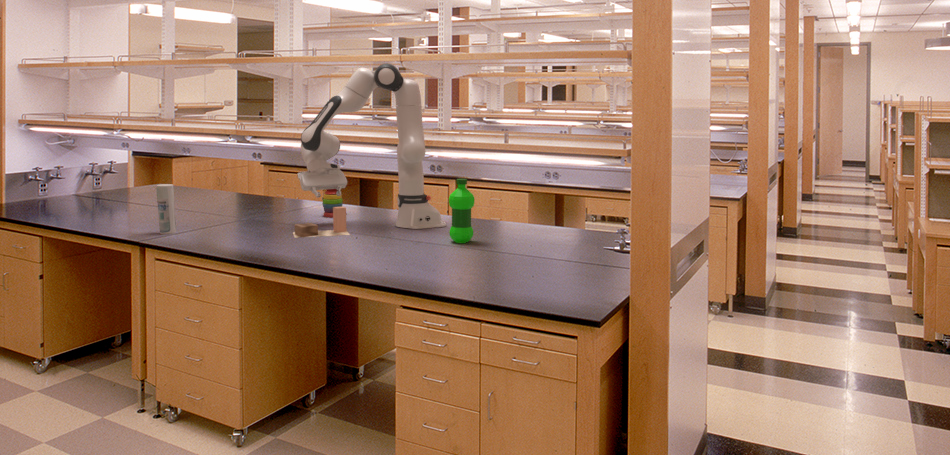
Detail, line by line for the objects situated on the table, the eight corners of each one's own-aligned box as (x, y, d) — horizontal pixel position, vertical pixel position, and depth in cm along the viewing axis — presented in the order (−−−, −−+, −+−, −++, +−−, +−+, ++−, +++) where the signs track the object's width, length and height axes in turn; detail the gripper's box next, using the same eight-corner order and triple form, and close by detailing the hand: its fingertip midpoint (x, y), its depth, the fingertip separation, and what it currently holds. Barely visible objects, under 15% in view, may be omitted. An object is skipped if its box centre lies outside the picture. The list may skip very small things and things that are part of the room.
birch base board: (346, 232, 297) (346, 229, 297) (350, 237, 286) (350, 234, 286) (292, 234, 290) (292, 232, 290) (294, 240, 279) (294, 237, 279)
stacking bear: (339, 218, 331) (338, 180, 328) (319, 217, 333) (318, 179, 330) (347, 214, 341) (347, 178, 338) (328, 213, 343) (327, 177, 340)
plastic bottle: (452, 238, 286) (452, 177, 281) (477, 240, 283) (478, 178, 278) (444, 243, 277) (444, 180, 272) (470, 245, 274) (470, 181, 269)
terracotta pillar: (342, 229, 296) (341, 206, 294) (346, 231, 293) (346, 207, 291) (333, 230, 293) (332, 207, 292) (337, 232, 290) (337, 208, 288)
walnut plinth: (311, 232, 290) (310, 222, 289) (318, 235, 284) (317, 225, 284) (294, 234, 286) (294, 224, 285) (301, 236, 280) (301, 227, 279)
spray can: (156, 233, 290) (152, 185, 286) (168, 230, 296) (164, 183, 292) (168, 234, 288) (164, 186, 284) (180, 232, 294) (176, 184, 290)
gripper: (297, 167, 296) (307, 192, 290) (342, 165, 308) (353, 189, 302) (294, 176, 301) (303, 202, 295) (338, 174, 312) (348, 198, 306)
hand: (329, 195), depth 298 cm, fingers open, 8 cm apart
